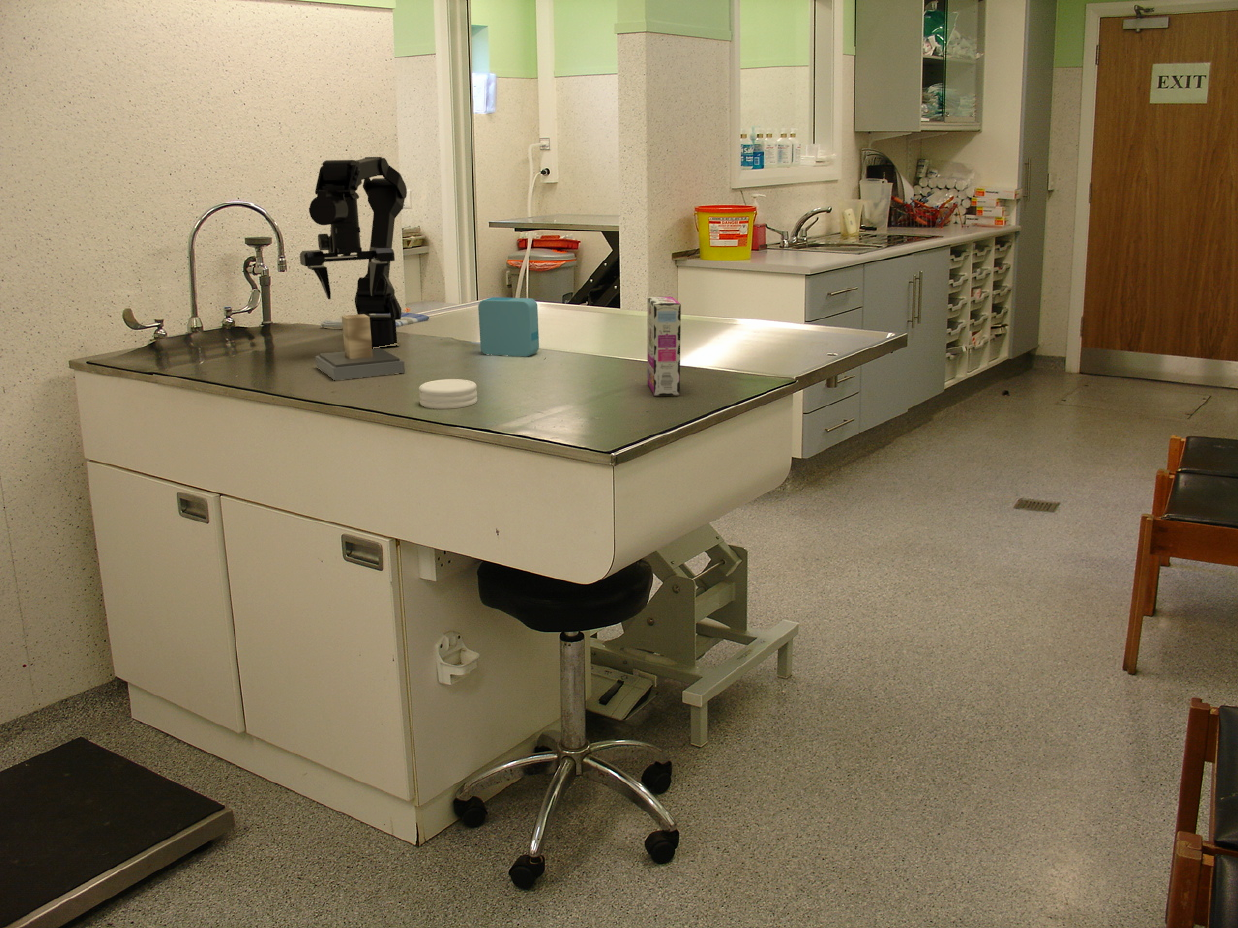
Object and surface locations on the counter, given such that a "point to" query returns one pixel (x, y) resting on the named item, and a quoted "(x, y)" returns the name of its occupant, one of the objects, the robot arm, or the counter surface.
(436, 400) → the coaster
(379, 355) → the plate
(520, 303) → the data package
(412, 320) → the dish towel
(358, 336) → the oak block
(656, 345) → the candy bar box
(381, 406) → the counter surface
